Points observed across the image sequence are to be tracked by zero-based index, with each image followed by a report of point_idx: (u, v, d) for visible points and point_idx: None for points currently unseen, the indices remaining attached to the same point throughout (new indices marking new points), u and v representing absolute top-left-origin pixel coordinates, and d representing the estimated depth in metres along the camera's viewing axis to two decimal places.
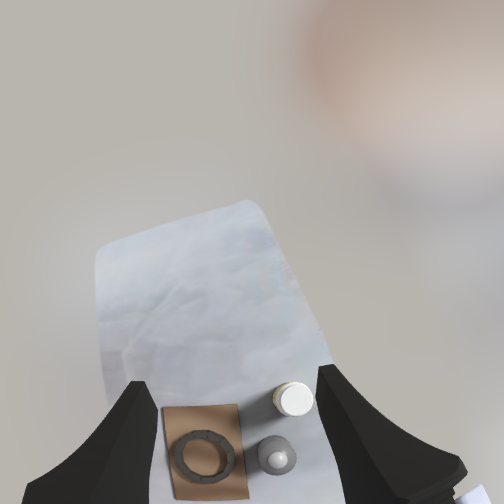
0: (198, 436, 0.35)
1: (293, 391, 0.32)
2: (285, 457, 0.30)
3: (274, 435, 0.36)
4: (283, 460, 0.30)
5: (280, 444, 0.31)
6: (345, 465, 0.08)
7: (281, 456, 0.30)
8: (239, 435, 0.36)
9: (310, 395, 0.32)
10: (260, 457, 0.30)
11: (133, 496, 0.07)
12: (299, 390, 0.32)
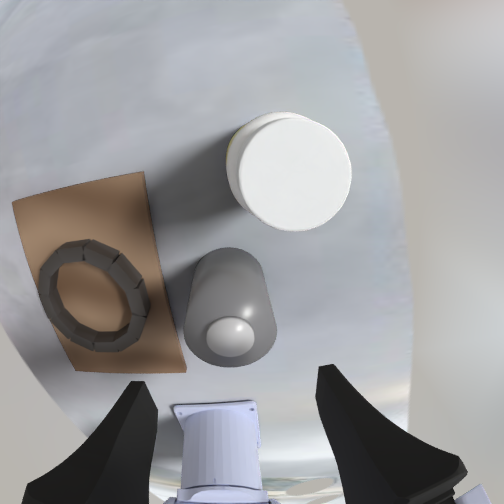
0: (68, 259, 0.16)
1: (287, 140, 0.09)
2: (249, 333, 0.14)
3: (229, 247, 0.19)
4: (244, 340, 0.14)
5: (237, 298, 0.14)
6: (345, 465, 0.08)
7: (239, 331, 0.14)
8: (152, 248, 0.18)
9: (344, 164, 0.09)
10: (187, 328, 0.14)
11: (133, 496, 0.07)
12: (308, 139, 0.09)
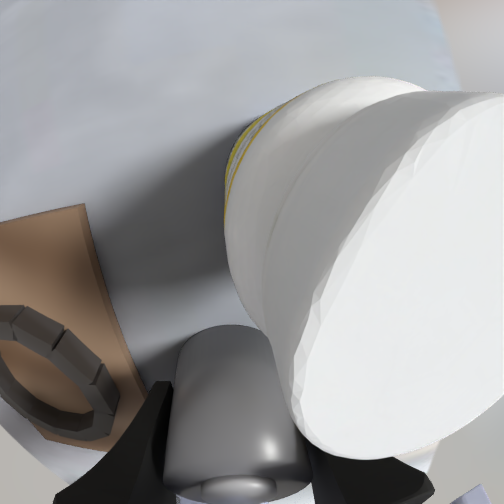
0: None
1: None
2: (270, 492, 0.07)
3: (231, 325, 0.12)
4: (261, 496, 0.07)
5: (251, 460, 0.06)
6: (314, 472, 0.08)
7: (253, 491, 0.07)
8: (109, 326, 0.11)
9: None
10: (168, 481, 0.07)
11: (163, 499, 0.07)
12: None
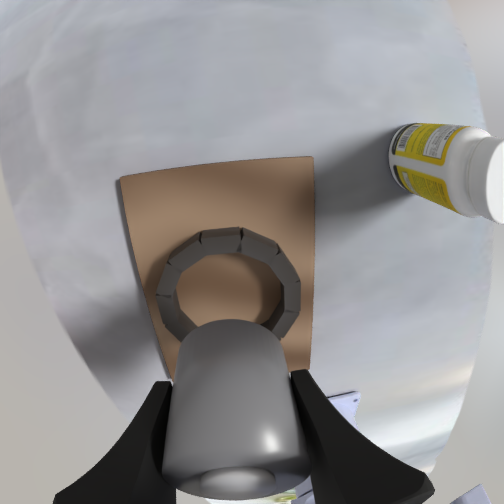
0: (215, 250, 0.16)
1: None
2: (269, 484, 0.07)
3: (231, 319, 0.12)
4: (260, 489, 0.07)
5: (249, 451, 0.06)
6: (314, 472, 0.08)
7: (252, 484, 0.07)
8: (312, 238, 0.18)
9: None
10: (167, 473, 0.07)
11: (163, 500, 0.07)
12: None
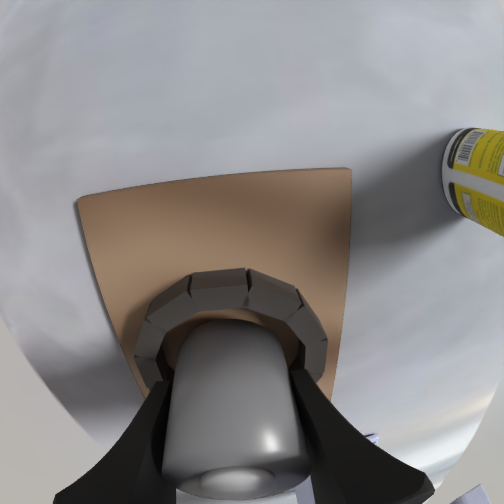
0: (212, 305, 0.11)
1: None
2: (269, 484, 0.07)
3: (231, 319, 0.12)
4: (260, 489, 0.07)
5: (249, 451, 0.06)
6: (314, 472, 0.08)
7: (252, 484, 0.07)
8: (344, 280, 0.13)
9: None
10: (167, 473, 0.07)
11: (163, 499, 0.07)
12: None
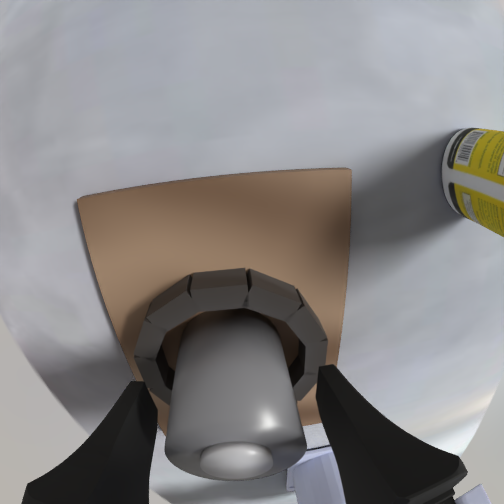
0: (212, 306, 0.11)
1: None
2: (266, 460, 0.08)
3: None
4: (257, 466, 0.08)
5: (247, 424, 0.07)
6: (345, 465, 0.08)
7: (250, 459, 0.08)
8: (344, 280, 0.13)
9: None
10: (170, 450, 0.08)
11: (133, 496, 0.07)
12: None
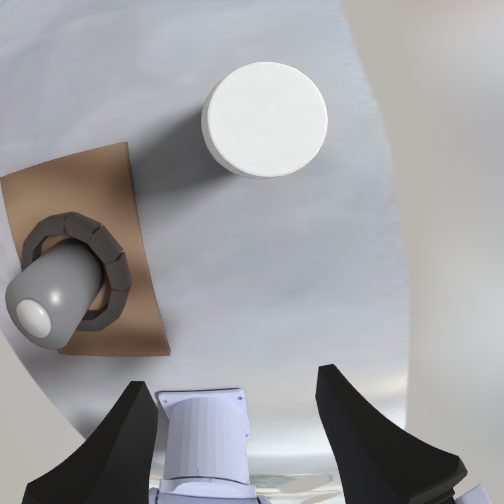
0: (50, 231, 0.16)
1: (257, 82, 0.08)
2: (42, 316, 0.12)
3: (69, 238, 0.17)
4: (41, 322, 0.12)
5: (28, 281, 0.12)
6: (345, 465, 0.08)
7: (34, 312, 0.12)
8: (133, 219, 0.17)
9: (319, 107, 0.09)
10: (8, 306, 0.12)
11: (133, 496, 0.07)
12: (280, 82, 0.08)
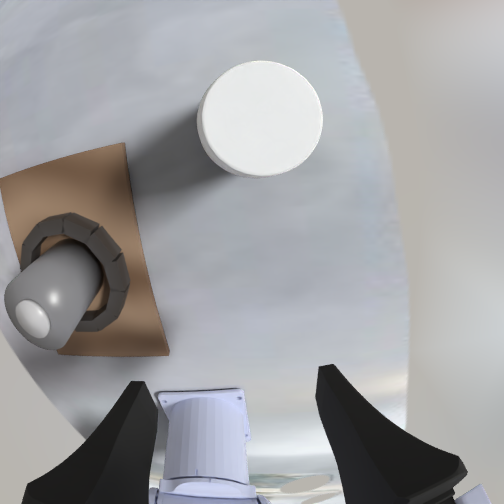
0: (48, 232, 0.16)
1: (251, 81, 0.08)
2: (41, 316, 0.12)
3: None
4: (40, 322, 0.12)
5: (27, 282, 0.12)
6: (345, 465, 0.08)
7: (33, 313, 0.12)
8: (131, 220, 0.17)
9: (313, 105, 0.09)
10: (7, 307, 0.12)
11: (133, 496, 0.07)
12: (274, 80, 0.08)
